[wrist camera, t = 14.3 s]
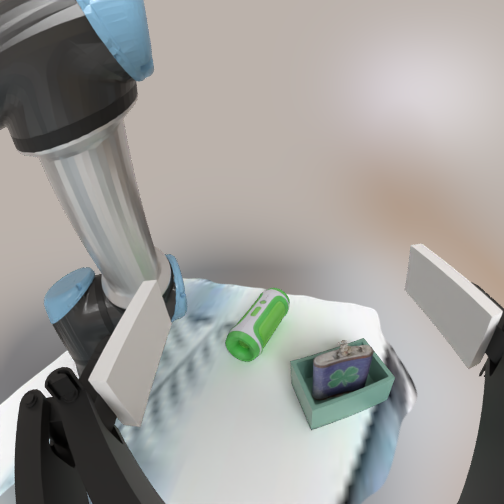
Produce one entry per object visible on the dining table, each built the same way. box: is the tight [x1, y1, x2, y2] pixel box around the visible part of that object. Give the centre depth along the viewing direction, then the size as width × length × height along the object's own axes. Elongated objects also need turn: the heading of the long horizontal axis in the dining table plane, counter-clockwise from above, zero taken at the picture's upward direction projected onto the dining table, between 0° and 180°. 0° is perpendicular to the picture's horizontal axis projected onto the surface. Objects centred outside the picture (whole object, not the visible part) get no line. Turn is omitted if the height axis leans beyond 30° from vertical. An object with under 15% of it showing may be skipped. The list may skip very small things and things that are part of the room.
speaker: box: [225, 288, 290, 361], centre depth 55 cm, size 18×7×8 cm, turn 153°
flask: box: [312, 340, 374, 400], centre depth 36 cm, size 9×3×11 cm, turn 93°
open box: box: [290, 338, 395, 430], centre depth 38 cm, size 10×13×6 cm
